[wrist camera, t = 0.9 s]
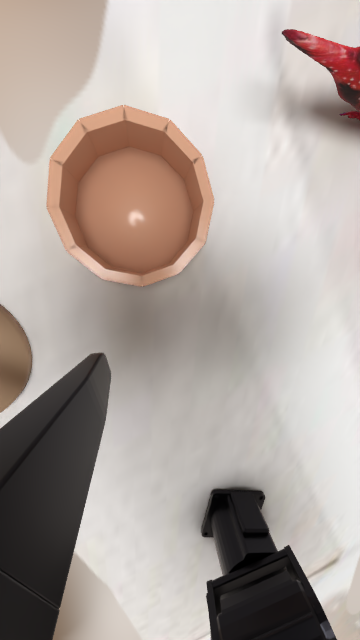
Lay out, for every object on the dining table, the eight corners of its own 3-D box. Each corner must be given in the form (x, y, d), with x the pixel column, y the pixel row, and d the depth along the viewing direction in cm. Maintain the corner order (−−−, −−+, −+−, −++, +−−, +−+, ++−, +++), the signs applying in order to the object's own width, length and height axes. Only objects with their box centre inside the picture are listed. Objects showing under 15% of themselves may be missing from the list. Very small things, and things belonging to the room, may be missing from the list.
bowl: (184, 288, 21) (194, 296, 17) (64, 266, 20) (42, 268, 15) (209, 164, 19) (228, 137, 15) (77, 126, 17) (55, 83, 13)
